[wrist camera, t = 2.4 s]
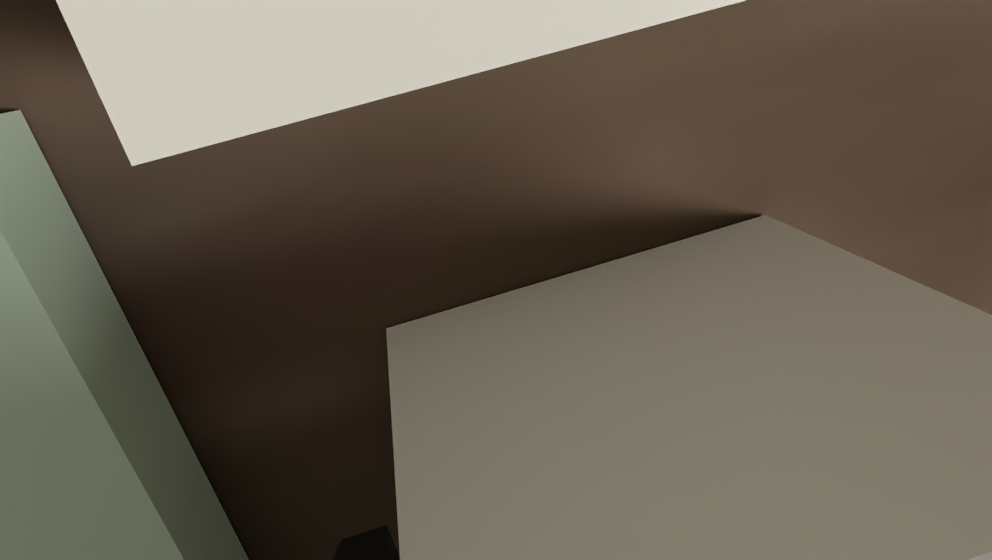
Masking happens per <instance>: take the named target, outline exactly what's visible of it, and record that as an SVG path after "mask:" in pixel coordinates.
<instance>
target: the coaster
mask: <svg viewBox="0 0 992 560" xmlns="http://www.w3.org/2000/svg"><path fill="white" fill-rule="evenodd" d="M0 560H249V559H248V557H247V555H246V553H245V551H244V549H243V547H242V545H241V543H240V541H239V539H238V537H237V535H236V533H235V531H234V529H233V527H232V525H231V523H230V521H229V519H228V518H227V516H226V514H225V512H224V510H223V508H222V506H221V504H220V502H219V500H218V498H217V496H216V494H215V492H214V490H213V488H212V486H211V484H210V482H209V480H208V478H207V476H206V474H205V472H204V470H203V468H202V466H201V464H200V462H199V461H198V459H197V457H196V455H195V453H194V451H193V449H192V447H191V445H190V443H189V441H188V439H187V437H186V435H185V433H184V431H183V429H182V427H181V425H180V423H179V421H178V419H177V417H176V415H175V413H174V411H173V409H172V407H171V405H170V403H169V402H168V400H167V398H166V396H165V394H164V392H163V390H162V388H161V386H160V384H159V382H158V380H157V378H156V376H155V374H154V372H153V370H152V368H151V366H150V364H149V362H148V360H147V358H146V356H145V354H144V352H143V350H142V348H141V346H140V345H139V343H138V341H137V339H136V337H135V335H134V333H133V331H132V329H131V327H130V325H129V323H128V321H127V319H126V317H125V315H124V313H123V311H122V309H121V307H120V305H119V303H118V301H117V299H116V297H115V295H114V293H113V291H112V289H111V288H110V286H109V284H108V282H107V280H106V278H105V276H104V274H103V272H102V270H101V268H100V266H99V264H98V262H97V260H96V258H95V256H94V254H93V252H92V250H91V248H90V246H89V244H88V242H87V240H86V238H85V236H84V234H83V232H82V230H81V229H80V227H79V225H78V223H77V221H76V219H75V217H74V215H73V213H72V211H71V209H70V207H69V205H68V203H67V201H66V199H65V197H64V195H63V193H62V191H61V189H60V187H59V185H58V183H57V181H56V179H55V177H54V175H53V173H52V172H51V170H50V168H49V166H48V164H47V162H46V160H45V158H44V156H43V154H42V152H41V150H40V148H39V146H38V144H37V142H36V140H35V138H34V136H33V134H32V132H31V130H30V128H29V126H28V124H27V122H26V120H25V118H24V116H23V114H22V113H21V111H20V110H17V111H12V112H7V113H2V114H0Z"/></svg>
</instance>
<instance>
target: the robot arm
mask: <svg viewBox="0 0 992 560" xmlns="http://www.w3.org/2000/svg"><path fill="white" fill-rule="evenodd" d="M332 560H400V558H399V555H398V553H397V550H396V548H395V545H394V542H393V540H392V537H391V535H390V532H389V530H388V527H387V525H385V526H382V527H379V528H376V529H373V530H370V531H367V532H364V533H360V534H357V535H354V536H351V537H348V538H345V539H342V540H341V541H340V543H339V545H338V546H337V548H336V550H335V553H334V555H333V558H332Z"/></svg>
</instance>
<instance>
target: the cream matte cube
mask: <svg viewBox="0 0 992 560" xmlns="http://www.w3.org/2000/svg"><path fill="white" fill-rule="evenodd" d="M386 336H387V352H388V369H389V386H390V402H391V419H392V436H393V452H394V469H395V486H396V502H397V519H398V536H399V552H400V560H992V315H990V314H988V313H986V312H983V311H981V310H979V309H977V308H974V307H972V306H970V305H968V304H965V303H963V302H961V301H959V300H956V299H954V298H952V297H950V296H947V295H945V294H943V293H940V292H938V291H936V290H934V289H931V288H929V287H927V286H925V285H922V284H920V283H918V282H916V281H913V280H911V279H909V278H907V277H904V276H902V275H900V274H897V273H895V272H893V271H891V270H888V269H886V268H884V267H882V266H879V265H877V264H875V263H873V262H870V261H868V260H866V259H864V258H861V257H859V256H857V255H854V254H852V253H850V252H848V251H845V250H843V249H841V248H839V247H836V246H834V245H832V244H830V243H827V242H825V241H823V240H821V239H818V238H816V237H814V236H811V235H809V234H807V233H805V232H802V231H800V230H798V229H796V228H793V227H791V226H789V225H787V224H784V223H782V222H780V221H778V220H775V219H773V218H771V217H768V216H766V215H763V216H760V217H757V218H753V219H750V220H747V221H743V222H740V223H737V224H733V225H730V226H727V227H723V228H720V229H717V230H713V231H710V232H707V233H703V234H700V235H697V236H693V237H690V238H686V239H683V240H680V241H676V242H673V243H670V244H666V245H663V246H660V247H656V248H653V249H650V250H646V251H643V252H640V253H636V254H633V255H630V256H626V257H623V258H620V259H616V260H613V261H610V262H606V263H603V264H600V265H596V266H593V267H590V268H586V269H583V270H580V271H576V272H573V273H570V274H566V275H563V276H560V277H556V278H553V279H550V280H546V281H543V282H540V283H536V284H533V285H530V286H526V287H523V288H520V289H516V290H513V291H510V292H506V293H503V294H500V295H496V296H493V297H489V298H486V299H483V300H479V301H476V302H473V303H469V304H466V305H463V306H459V307H456V308H453V309H449V310H446V311H443V312H439V313H436V314H433V315H429V316H426V317H423V318H419V319H416V320H413V321H409V322H406V323H403V324H399V325H396V326H393V327H389V328H386Z"/></svg>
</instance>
